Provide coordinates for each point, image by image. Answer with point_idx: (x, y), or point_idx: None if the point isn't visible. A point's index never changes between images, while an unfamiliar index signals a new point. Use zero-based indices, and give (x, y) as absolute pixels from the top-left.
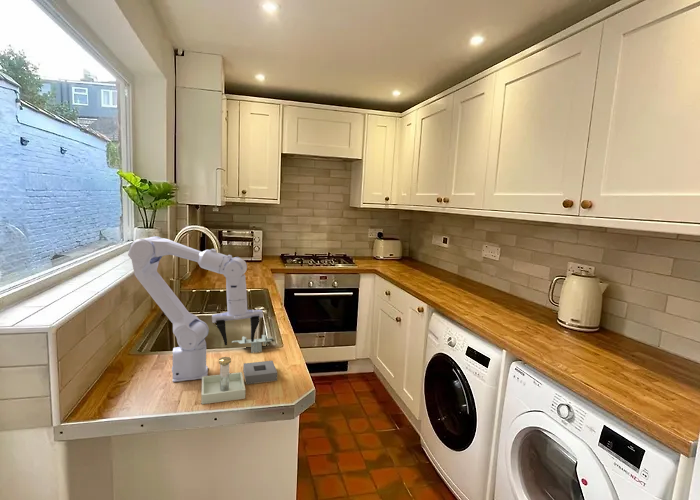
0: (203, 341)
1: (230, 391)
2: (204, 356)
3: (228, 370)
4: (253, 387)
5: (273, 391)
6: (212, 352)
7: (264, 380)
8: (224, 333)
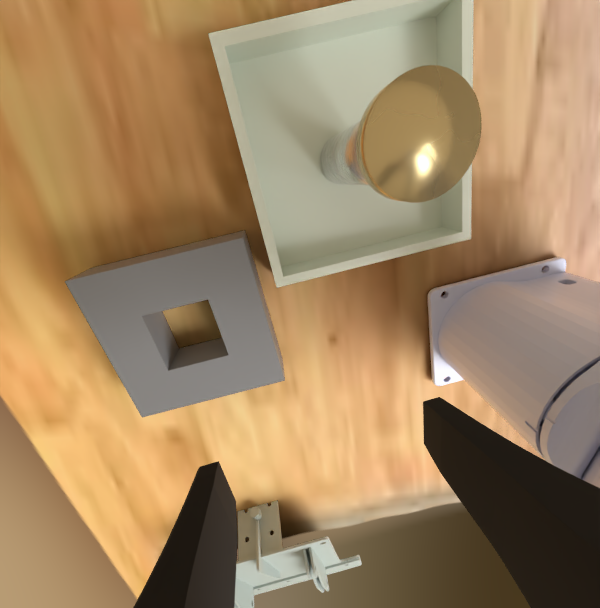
0: (577, 454)
1: (302, 15)
2: (503, 362)
3: (353, 133)
4: (200, 195)
5: (72, 139)
6: (419, 489)
7: (153, 254)
8: (548, 491)
